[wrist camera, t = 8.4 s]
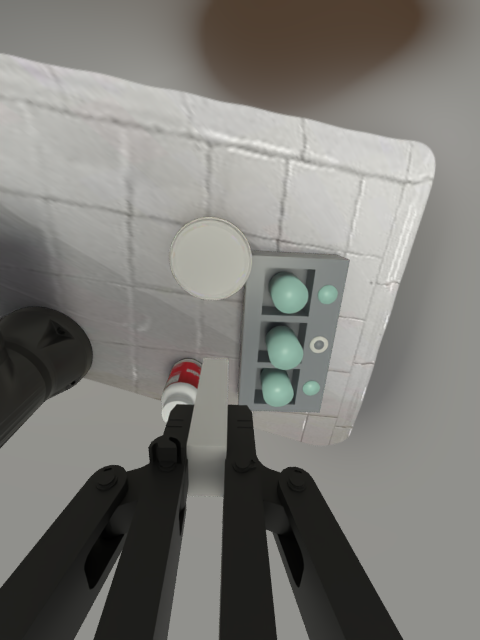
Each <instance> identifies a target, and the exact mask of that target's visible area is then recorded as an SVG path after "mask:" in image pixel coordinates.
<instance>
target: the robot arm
mask: <svg viewBox="0 0 480 640" xmlns="http://www.w3.org/2000/svg"><path fill="white" fill-rule="evenodd" d="M91 363H92V348H91V345H90V342H89V340H88V338H87V336H86V334H85V333H84V331H83V330H82V329H81V328H80V327H79V326H78V325H77V324H76V323H75V322H74V321H73V320H71V319H70V318H69V317H67V316H65V315H64V314H62V313H60V312H57V311H55V310H52V309H48V308H43V307H27V308H22V309H19V310H17V311H14V312H12V313H10V314H8V315H6V316H4V317H3V318H1V319H0V448H1V447H2V446H3V445H4V444H5V443H6V442H7V441H8V439H9V438H10V437H11V436H12V435H13V434H14V433H15V432H16V431H17V430H18V429H19V428H20V427H21V426H22V425H23V424H24V422H26V421H27V419H28V418H29V417H30V416H31V415H32V414H33V413H34V412H35V411H36V410H37V409H38V408H39V407H40V406H41V405H42V404H43V402H45V401H46V400H47V399H49V398H51V397H53V396H55V395H57V394H59V393H62V392H64V391H66V390H68V389H70V388H71V387H73V386H74V385H76V384H77V383H78V382H79V381H80V380H81V379H82V378H83V377H84V376H85V374H86V373H87V372H88V370H89V368H90V366H91ZM228 368H229V359H227V358H203V363H202V368H201V373H200V379H199V384H198V389H197V394H196V399H195V404H194V405H191V404H176V406H175V407H174V408H173V409H172V410H171V411H170V414H169V417H168V421H167V424H166V428H165V431H164V434H163V435H162V436H160V437H158V438H156V439H155V440H154V441H152V442H151V444H150V446H149V447H148V448H149V458H150V463H149V464H147V465H145V466H144V467H141V468H138V469H135V470H131V471H127V472H126V471H125V469H124V468H123V467H121V466H119V465H110V466H106V467H103V468H101V469H99V470H98V471H96V472H95V473H94V474H93V475H92V476H91V477H90V478H89V479H88V481H87V482H86V483H85V485H84V486H83V487H82V488H81V489H80V491H79V492H78V493H77V494H76V496H75V497H74V498H73V499H72V500H71V502H70V503H69V504H68V505H67V507H66V508H65V509H64V510H63V512H62V513H61V514H60V515H59V517H58V518H57V519H56V520H55V522H54V523H53V524H52V525H51V526H50V528H49V529H48V530H47V531H46V533H45V534H44V535H43V536H42V538H41V539H40V540H39V541H38V543H37V544H36V545H35V546H34V547H33V549H32V550H31V551H30V552H29V554H28V555H27V556H26V557H25V558H24V560H23V561H22V562H21V563H20V565H19V566H18V567H17V568H16V570H15V571H14V572H13V573H12V575H11V576H10V577H9V578H8V580H7V581H6V582H5V583H4V584H3V586H2V587H1V588H0V640H74V638H75V636H76V635H77V633H78V631H79V629H80V627H81V625H82V623H83V621H84V620H85V618H86V616H87V614H88V612H89V610H90V608H91V606H92V605H93V603H94V601H95V599H96V597H97V596H98V593H99V592H100V590H101V588H102V586H103V584H104V582H105V581H106V579H107V577H108V575H109V573H110V571H111V569H112V568H113V566H114V564H115V562H116V560H117V558H118V556H119V555H120V553H121V551H122V553H121V556H120V559H119V562H118V565H117V568H116V571H115V575H114V578H113V581H112V584H111V587H110V590H109V593H108V596H107V599H106V602H105V606H104V609H103V612H102V615H101V618H100V622H99V625H98V627H97V631H96V634H95V637H94V640H167V636H168V629H169V622H170V616H171V609H172V603H173V596H174V589H175V583H176V576H177V569H178V562H179V555H180V549H181V541H182V535H183V529H184V522H185V515H186V498H187V492H188V496H224V499H223V527H222V528H223V529H222V557H221V589H220V619H219V640H277V635H276V625H275V614H274V605H273V595H272V585H271V577H270V566H269V556H268V547H267V537H266V530H269V531H271V532H273V535H274V538H275V541H276V544H277V547H278V550H279V552H280V555H281V558H282V561H283V564H284V567H285V570H286V573H287V576H288V578H289V582H290V584H291V587H292V590H293V593H294V596H295V599H296V602H297V605H298V607H299V610H300V613H301V616H302V619H303V622H304V625H305V628H306V631H307V634H308V636H309V639H310V640H403V638H402V637H401V635H400V633H399V631H398V630H397V628H396V626H395V624H394V622H393V620H392V619H391V617H390V615H389V613H388V612H387V610H386V608H385V606H384V605H383V603H382V601H381V599H380V597H379V596H378V594H377V592H376V590H375V588H374V587H373V585H372V583H371V581H370V580H369V578H368V576H367V574H366V573H365V571H364V569H363V567H362V565H361V564H360V562H359V560H358V558H357V556H356V555H355V553H354V551H353V549H352V548H351V546H350V544H349V542H348V540H347V539H346V537H345V535H344V533H343V532H342V530H341V528H340V526H339V524H338V523H337V521H336V519H335V517H334V516H333V514H332V512H331V510H330V508H329V507H328V505H327V503H326V501H325V500H324V498H323V496H322V494H321V492H320V491H319V489H318V487H317V485H316V483H315V482H314V480H313V478H312V477H311V476H310V475H309V473H307V472H306V471H304V470H303V469H301V468H298V467H288V468H286V469H283V471H282V472H281V473H280V472H277V471H274V470H271V469H269V468H267V467H265V466H263V465H262V464H261V462H260V461H259V460H258V458H257V456H256V449H255V440H254V429H253V419H252V412H251V410H250V409H249V407H248V406H247V405H228Z"/></svg>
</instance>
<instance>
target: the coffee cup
mask: <svg viewBox="0 0 480 640" xmlns="http://www.w3.org/2000/svg"><path fill="white" fill-rule="evenodd" d="M169 261H170V267H171V271H172V274H173V276H174V278H175V280H176V281H177V283H178V284H179V285H180V286H181V287H182V288H183V289H184V290H185V291H186V292H188V293H189V294H191V295H192V296H194V297H197V298H200V299H203V300H220V299H224V298H227V297H229V296H231V295H233V294H235V293H236V292H237V291H238V290H240V289H241V288H242V286H243V285H244V284H245V282H246V281H247V279H248V277H249V274H250V271H251V267H252V253H251V248H250V245H249V243H248V241H247V239H246V237H245V236H244V234H243V233H242V232H241V231H240V230H239V229H238V228H237V227H236V226H235V225H233V224H232V223H230V222H228V221H226V220H224V219H221V218H216V217H202V218H198V219H195V220H193V221H190V222H189V223H187V224H186V225H184V226H183V227H182V228H181V229H180V230H179V231H178V233H177V234H176V236H175V237H174V239H173V241H172V244H171V247H170V253H169Z"/></svg>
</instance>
